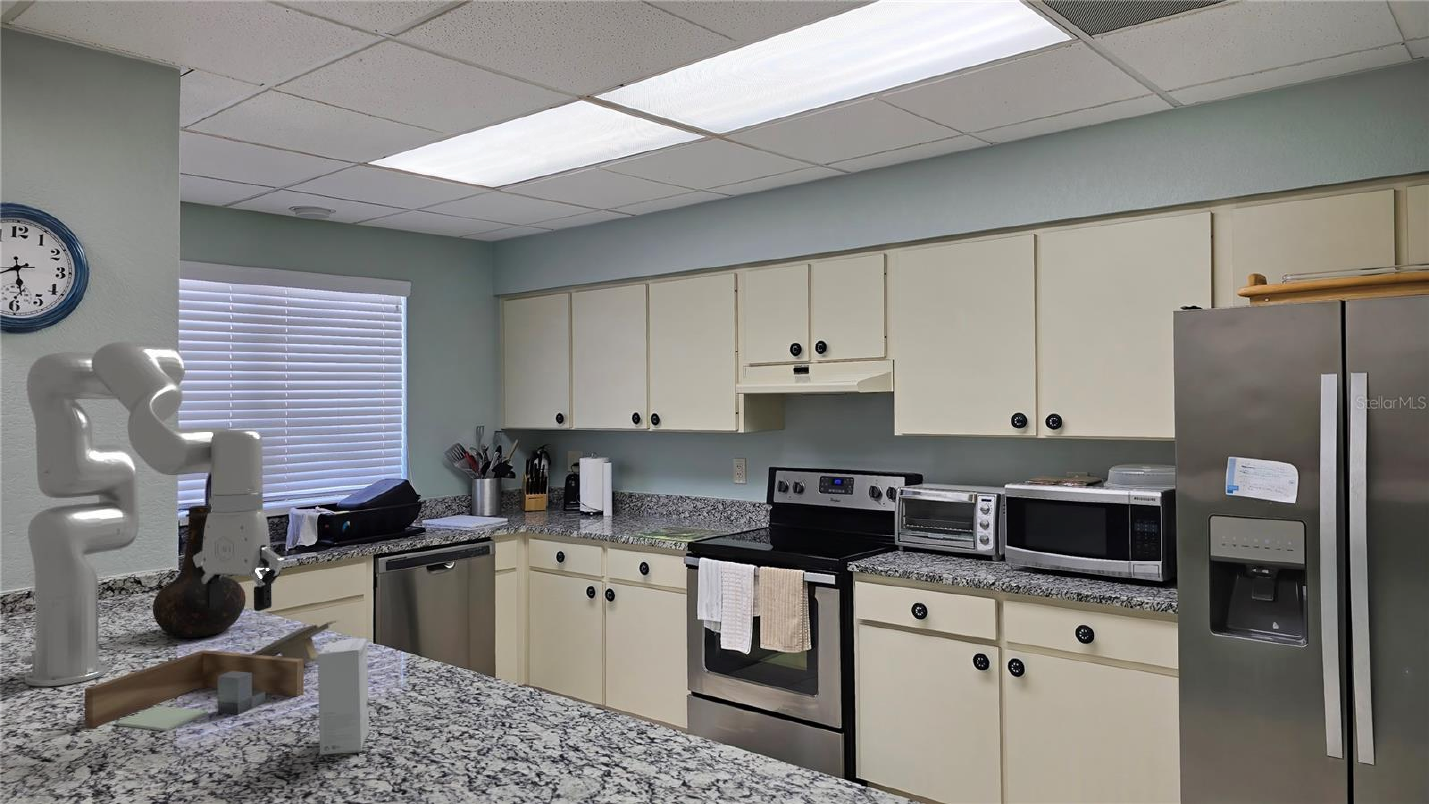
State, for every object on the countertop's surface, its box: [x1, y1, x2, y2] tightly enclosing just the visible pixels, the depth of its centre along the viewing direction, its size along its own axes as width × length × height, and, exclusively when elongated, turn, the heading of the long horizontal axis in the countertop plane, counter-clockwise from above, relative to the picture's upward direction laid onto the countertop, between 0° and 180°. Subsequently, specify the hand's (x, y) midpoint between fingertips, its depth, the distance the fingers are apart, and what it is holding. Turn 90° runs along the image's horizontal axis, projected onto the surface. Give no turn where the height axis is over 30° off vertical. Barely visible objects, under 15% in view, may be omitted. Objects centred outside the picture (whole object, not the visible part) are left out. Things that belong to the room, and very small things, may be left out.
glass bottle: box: [152, 504, 246, 639], centre depth 199 cm, size 18×18×28 cm
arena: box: [84, 649, 305, 729], centre depth 150 cm, size 22×23×6 cm
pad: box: [115, 705, 209, 732], centre depth 145 cm, size 10×8×1 cm
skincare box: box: [317, 637, 370, 756], centre depth 135 cm, size 8×6×15 cm
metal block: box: [217, 671, 266, 716], centre depth 151 cm, size 4×6×6 cm, turn 164°
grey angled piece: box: [252, 619, 339, 666], centre depth 174 cm, size 16×9×15 cm
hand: (238, 607), depth 150 cm, fingers open, 9 cm apart
